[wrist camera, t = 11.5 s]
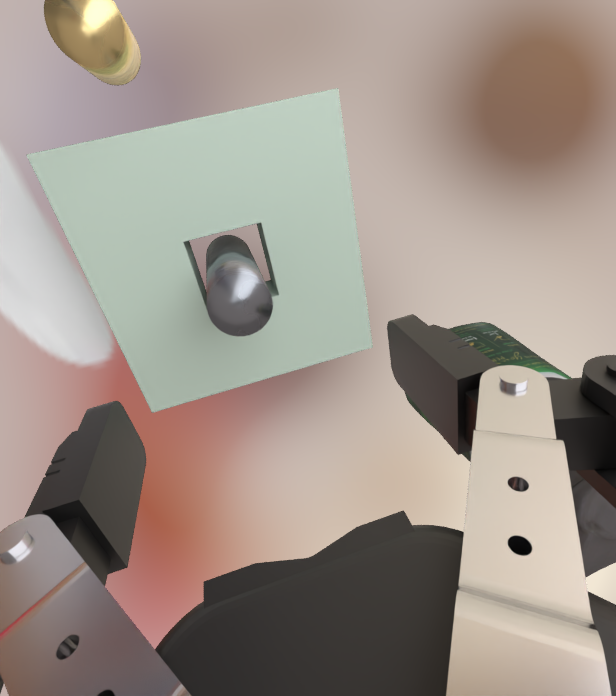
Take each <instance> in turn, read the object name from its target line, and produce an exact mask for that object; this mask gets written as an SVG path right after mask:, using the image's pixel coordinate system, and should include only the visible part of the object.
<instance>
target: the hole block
mask: <svg viewBox="0 0 616 696" xmlns="http://www.w3.org/2000/svg"><path fill="white" fill-rule="evenodd" d="M27 157H28V159H29V161H30V163H31V165H32V167H33V170H34V172H35V174H36V175H37V178H38V180H39V182H40V184H41V186H42V188H43V190H44V192H45V194H46V196H47V198H48V200H49V202H50V204H51V206H52V208H53V211H54V212H55V215H56V216H57V219H58V221H59V223H60V225H61V227H62V229H63V231H64V233H65V235H66V237H67V239H68V241H69V243H70V245H71V247H72V249H73V252H74V254H75V256H76V258H77V260H78V262H79V264H80V266H81V268H82V270H83V272H84V274H85V276H86V278H87V280H88V282H89V284H90V286H91V288H92V290H93V293H94V295H95V297H96V299H97V301H98V303H99V305H100V307H101V309H102V311H103V313H104V315H105V317H106V319H107V321H108V323H109V325H110V327H111V329H112V331H113V334H114V336H115V338H116V340H117V342H118V344H119V346H120V348H121V350H122V352H123V354H124V356H125V358H126V360H127V362H128V364H129V366H130V368H131V370H132V372H133V375H134V376H135V379H136V381H137V383H138V385H139V387H140V389H141V391H142V393H143V395H144V397H145V399H146V401H147V403H148V405H149V407H150V409H151V411H152V412H156V411H160V410H163V409H167V408H170V407H173V406H177V405H180V404H183V403H187V402H190V401H193V400H197V399H200V398H204V397H207V396H210V395H214V394H217V393H220V392H224V391H227V390H231V389H234V388H237V387H241V386H244V385H247V384H251V383H254V382H257V381H261V380H264V379H267V378H271V377H274V376H278V375H281V374H284V373H288V372H291V371H294V370H298V369H301V368H305V367H308V366H311V365H315V364H318V363H322V362H325V361H328V360H331V359H335V358H338V357H341V356H345V355H348V354H352V353H355V352H359V351H362V350H365V349H369V348H372V347H373V345H372V337H371V330H370V322H369V315H368V308H367V300H366V294H365V285H364V278H363V270H362V263H361V255H360V248H359V241H358V234H357V226H356V218H355V211H354V203H353V196H352V188H351V182H350V173H349V166H348V159H347V151H346V144H345V137H344V129H343V121H342V114H341V106H340V99H339V91H338V88H337V89H332V90H328V91H323V92H318V93H313V94H309V95H304V96H299V97H295V98H290V99H285V100H280V101H276V102H271V103H267V104H262V105H257V106H252V107H247V108H243V109H238V110H233V111H229V112H224V113H219V114H215V115H210V116H206V117H201V118H196V119H191V120H187V121H182V122H177V123H172V124H168V125H163V126H158V127H154V128H149V129H145V130H139V131H135V132H130V133H126V134H121V135H116V136H112V137H107V138H102V139H97V140H93V141H88V142H83V143H78V144H74V145H69V146H65V147H60V148H56V149H50V150H46V151H41V152H36V153H32V154H27ZM253 224H257V226H258V230H259V234H260V238H261V242H262V246H263V250H264V254H265V258H266V262H267V266H268V269H269V273H270V278H271V280H270V281H266V282H265V283H266V285H267V287H268V289H269V291H270V294H271V296H272V300H273V310H272V314H271V317H270V319H269V321H268V322H267V324H266V325H265V326H264V327H263V328H262V329H261V330H259V331H258V332H256V333H254V334H251V335H248V336H232V335H228V334H226V333H224V332H222V331H220V330H219V329H218V328H217V327H216V326H215V325H214V324H213V323H212V321H211V320H210V318H209V315H208V312H207V292H206V290H205V286H204V283H203V281H202V278H201V275H200V272H199V269H198V266H197V263H196V260H195V257H194V254H193V251H192V248H191V245H190V242H189V240H193V239H197V238H201V237H205V236H209V235H213V234H216V233H220V232H225V231H229V230H232V229H236V228H240V227H244V226H249V225H253Z"/></svg>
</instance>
